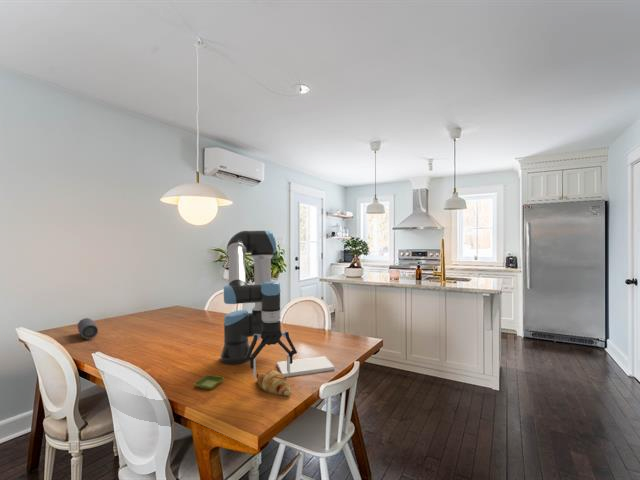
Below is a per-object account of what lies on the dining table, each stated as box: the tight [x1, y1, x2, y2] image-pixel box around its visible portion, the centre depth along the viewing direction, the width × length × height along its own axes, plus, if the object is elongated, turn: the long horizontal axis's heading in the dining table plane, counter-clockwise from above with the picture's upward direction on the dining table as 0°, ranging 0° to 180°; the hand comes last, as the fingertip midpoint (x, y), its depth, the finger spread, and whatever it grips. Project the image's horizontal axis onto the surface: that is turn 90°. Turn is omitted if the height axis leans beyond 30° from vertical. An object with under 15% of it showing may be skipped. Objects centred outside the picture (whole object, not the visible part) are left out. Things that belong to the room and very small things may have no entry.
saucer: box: [193, 374, 225, 390], centre depth 131 cm, size 9×9×2 cm
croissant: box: [256, 369, 292, 396], centre depth 127 cm, size 21×10×8 cm, turn 47°
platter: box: [276, 355, 336, 378], centre depth 148 cm, size 24×14×2 cm, turn 107°
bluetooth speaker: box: [77, 317, 99, 340], centre depth 199 cm, size 23×9×10 cm, turn 42°
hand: (271, 374), depth 126 cm, fingers open, 13 cm apart
